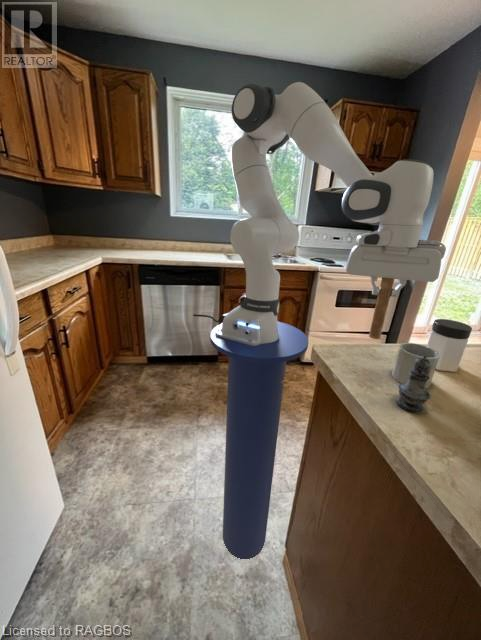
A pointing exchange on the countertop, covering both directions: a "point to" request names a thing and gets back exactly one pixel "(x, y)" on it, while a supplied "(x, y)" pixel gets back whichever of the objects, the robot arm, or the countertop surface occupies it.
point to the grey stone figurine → (415, 387)
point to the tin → (407, 359)
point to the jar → (449, 342)
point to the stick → (381, 308)
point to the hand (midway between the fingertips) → (384, 295)
